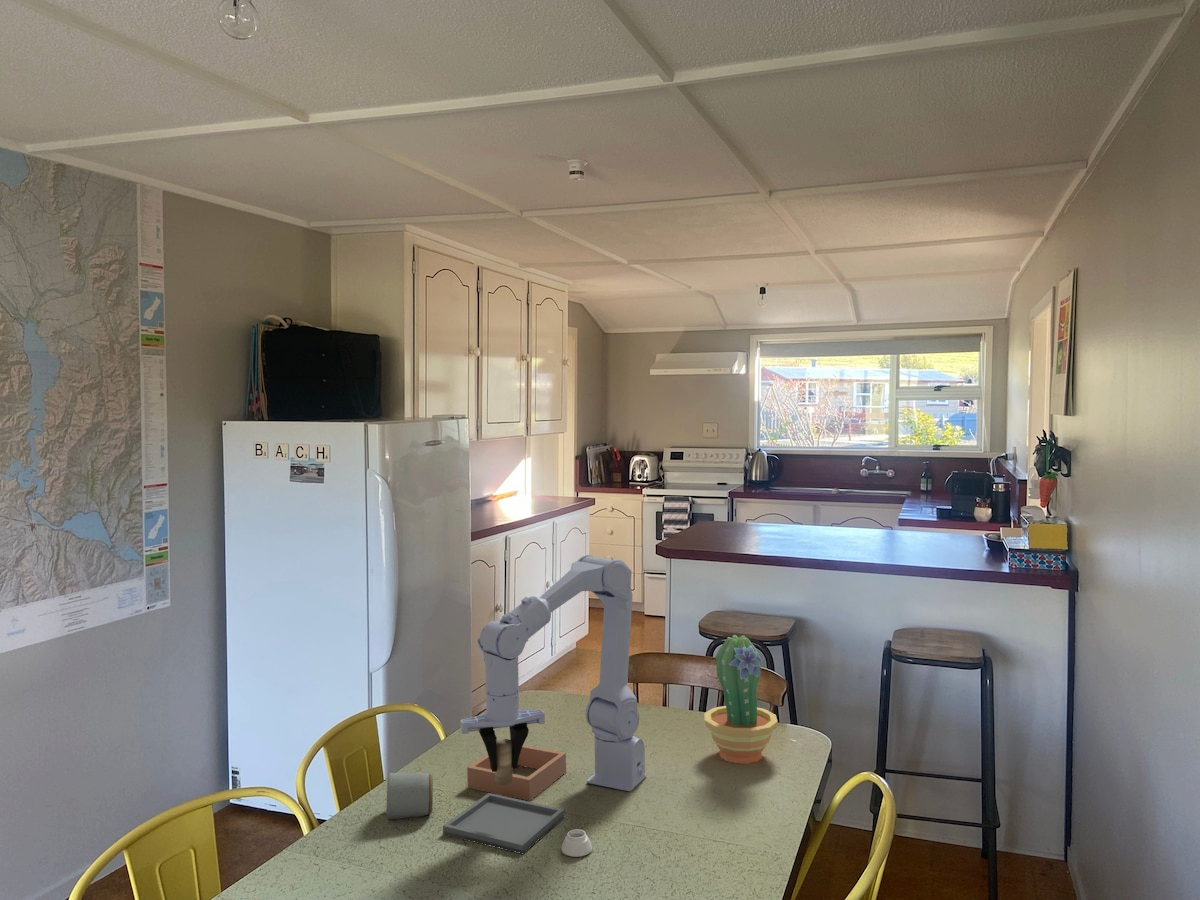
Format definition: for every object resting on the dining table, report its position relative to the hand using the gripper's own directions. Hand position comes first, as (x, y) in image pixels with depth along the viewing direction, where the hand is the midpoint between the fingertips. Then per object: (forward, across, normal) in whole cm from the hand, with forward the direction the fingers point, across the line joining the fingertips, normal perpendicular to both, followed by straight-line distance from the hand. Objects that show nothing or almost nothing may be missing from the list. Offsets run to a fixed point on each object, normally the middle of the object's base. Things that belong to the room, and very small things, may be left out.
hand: (503, 768), depth 148 cm
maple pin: (+2, 0, 0) cm, 2 cm away
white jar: (+10, -9, +13) cm, 19 cm away
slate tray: (+10, 0, +1) cm, 10 cm away
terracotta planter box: (+10, -6, -17) cm, 21 cm away
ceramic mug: (+10, +16, -11) cm, 22 cm away
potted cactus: (+10, -53, -13) cm, 55 cm away
